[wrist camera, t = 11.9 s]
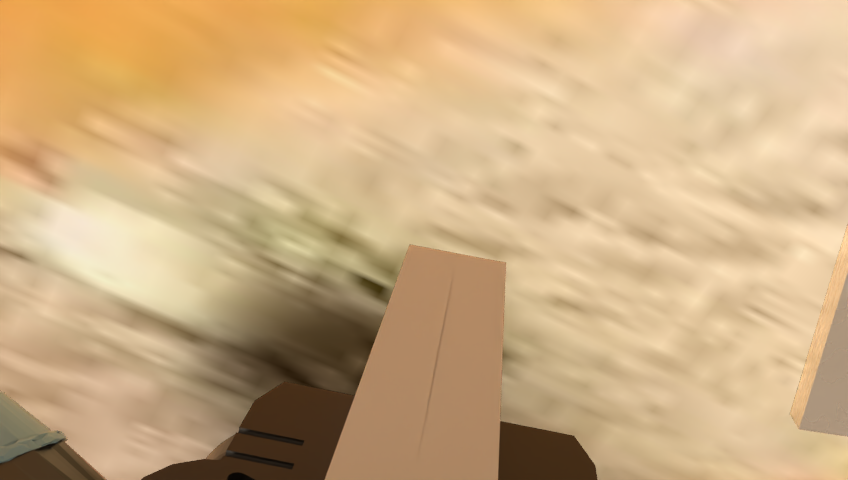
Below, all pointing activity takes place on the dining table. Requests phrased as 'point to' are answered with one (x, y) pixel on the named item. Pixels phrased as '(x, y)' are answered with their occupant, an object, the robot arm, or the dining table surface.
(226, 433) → the dining table surface
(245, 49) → the dining table surface
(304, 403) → the robot arm
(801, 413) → the bolt plate
